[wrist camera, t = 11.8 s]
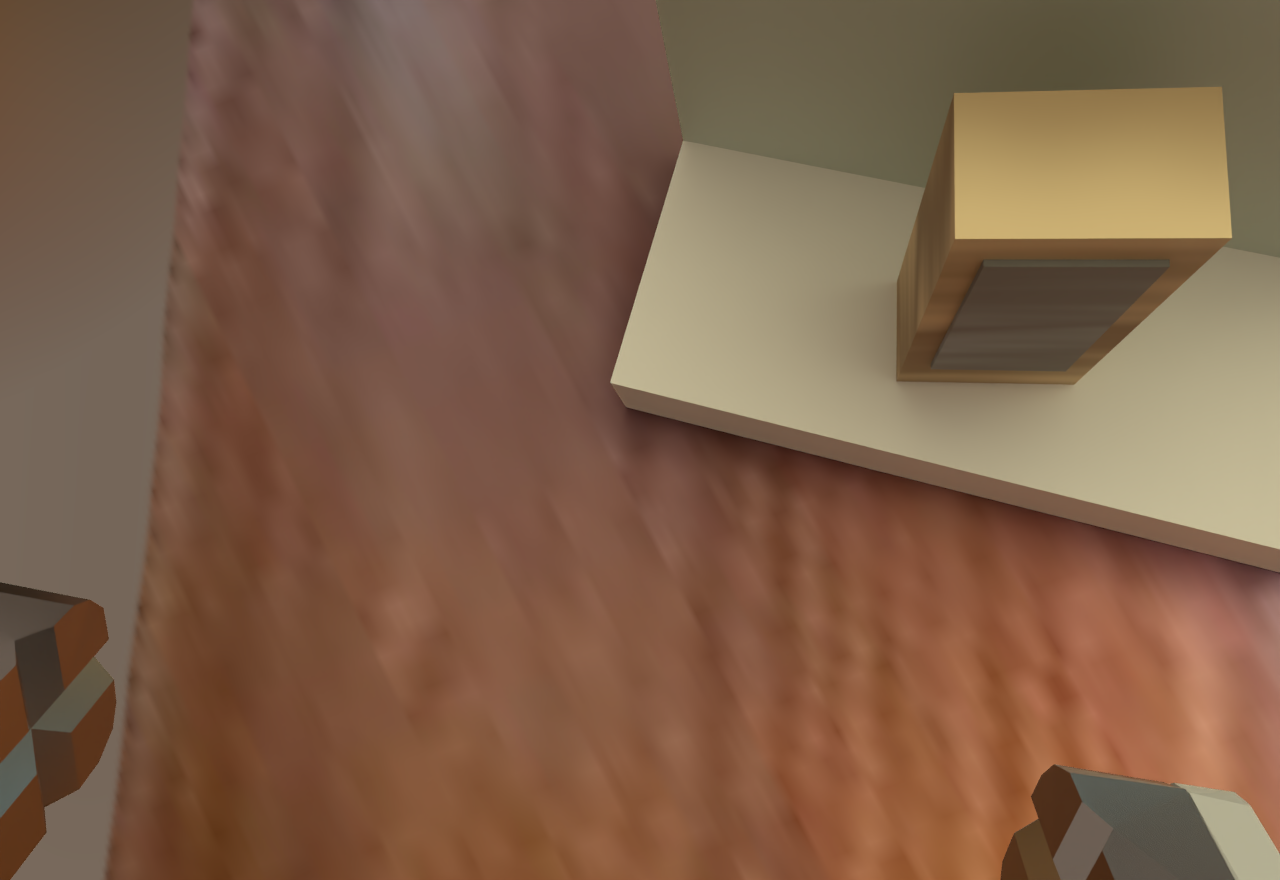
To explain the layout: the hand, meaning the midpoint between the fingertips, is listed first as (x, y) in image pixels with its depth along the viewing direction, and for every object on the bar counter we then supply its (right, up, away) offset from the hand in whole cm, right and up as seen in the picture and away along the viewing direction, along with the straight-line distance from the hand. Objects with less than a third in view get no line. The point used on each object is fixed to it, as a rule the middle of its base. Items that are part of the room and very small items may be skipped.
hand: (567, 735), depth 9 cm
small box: (+10, +6, +20) cm, 23 cm away
